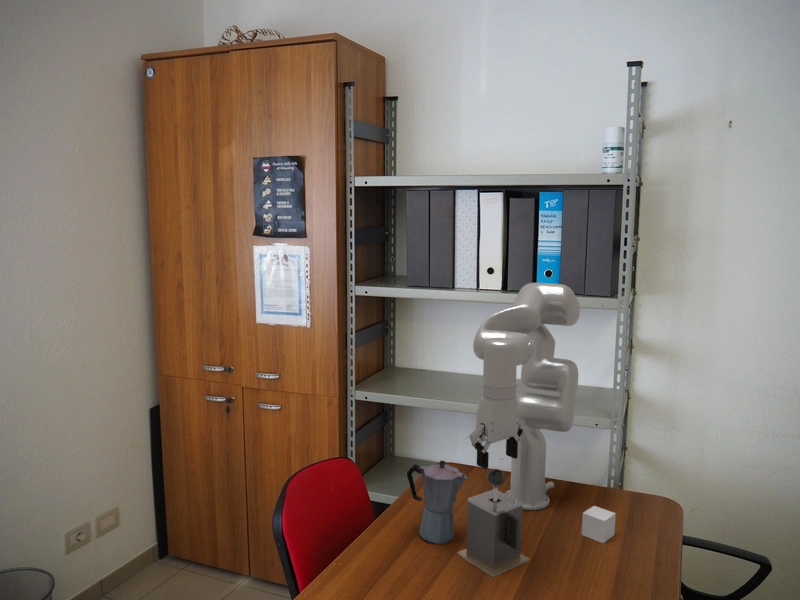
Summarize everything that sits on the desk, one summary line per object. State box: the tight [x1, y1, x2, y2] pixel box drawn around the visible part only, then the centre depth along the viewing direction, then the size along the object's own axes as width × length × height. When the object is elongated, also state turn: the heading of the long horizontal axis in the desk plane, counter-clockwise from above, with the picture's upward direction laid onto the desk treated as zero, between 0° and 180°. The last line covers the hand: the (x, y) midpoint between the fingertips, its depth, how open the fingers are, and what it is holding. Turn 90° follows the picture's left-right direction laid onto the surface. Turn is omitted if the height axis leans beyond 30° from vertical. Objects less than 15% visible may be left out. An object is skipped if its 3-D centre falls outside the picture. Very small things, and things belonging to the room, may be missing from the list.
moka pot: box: [406, 460, 468, 545], centre depth 158 cm, size 10×15×20 cm, turn 78°
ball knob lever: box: [487, 468, 505, 503], centre depth 147 cm, size 6×6×17 cm
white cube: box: [581, 505, 617, 544], centre depth 160 cm, size 6×6×6 cm
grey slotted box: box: [456, 489, 530, 578], centre depth 148 cm, size 12×13×14 cm
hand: (497, 461), depth 147 cm, fingers open, 9 cm apart
